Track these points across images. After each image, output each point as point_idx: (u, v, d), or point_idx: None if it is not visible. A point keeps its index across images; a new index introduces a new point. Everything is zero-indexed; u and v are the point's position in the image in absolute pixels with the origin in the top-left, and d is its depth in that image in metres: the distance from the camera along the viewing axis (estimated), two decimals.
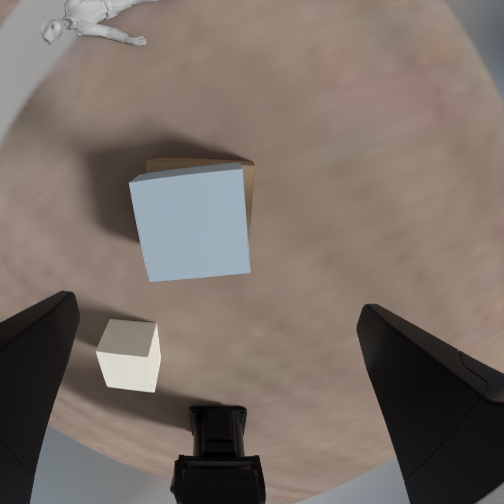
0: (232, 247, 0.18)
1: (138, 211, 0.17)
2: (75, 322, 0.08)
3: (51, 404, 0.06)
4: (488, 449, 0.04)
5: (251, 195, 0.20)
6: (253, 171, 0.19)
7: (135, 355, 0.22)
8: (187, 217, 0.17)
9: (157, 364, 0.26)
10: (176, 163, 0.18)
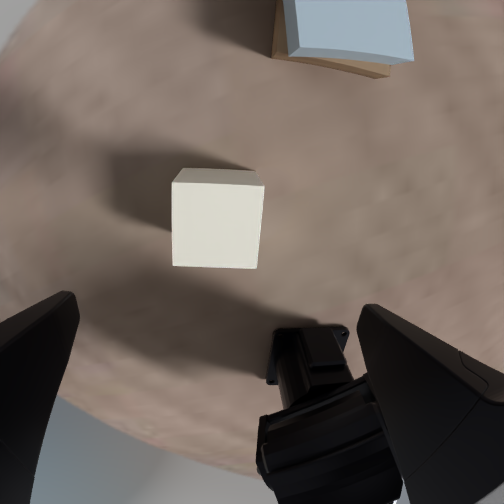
0: (396, 27, 0.11)
1: None
2: (75, 322, 0.08)
3: (51, 405, 0.06)
4: (488, 448, 0.04)
5: None
6: None
7: (242, 184, 0.15)
8: None
9: None
10: None
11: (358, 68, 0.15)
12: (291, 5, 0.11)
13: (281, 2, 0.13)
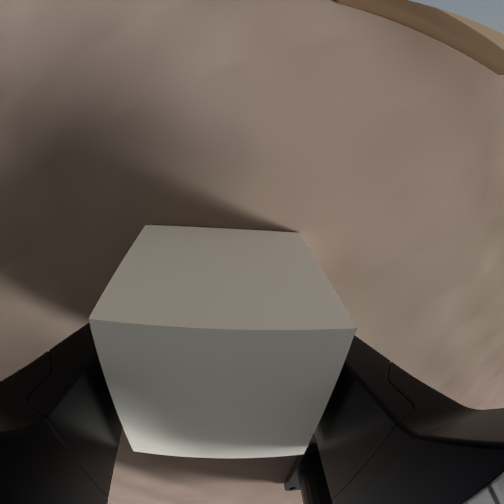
0: None
1: None
2: None
3: None
4: (406, 486, 0.03)
5: None
6: None
7: (296, 327, 0.05)
8: None
9: None
10: None
11: (500, 50, 0.05)
12: None
13: None
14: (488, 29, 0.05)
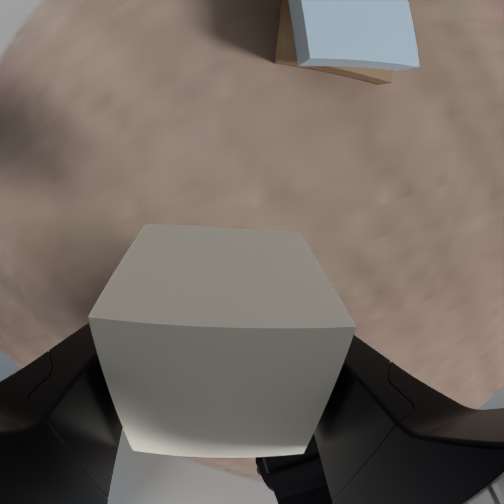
0: (401, 34, 0.12)
1: None
2: None
3: None
4: (406, 486, 0.03)
5: None
6: None
7: (297, 325, 0.05)
8: None
9: None
10: None
11: (360, 74, 0.15)
12: (299, 16, 0.12)
13: (285, 8, 0.13)
14: None
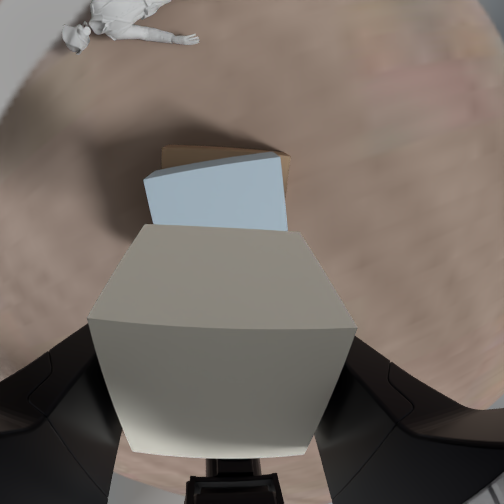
0: None
1: (156, 213, 0.14)
2: None
3: None
4: (405, 486, 0.03)
5: (284, 190, 0.17)
6: (288, 162, 0.16)
7: (297, 326, 0.05)
8: (215, 218, 0.15)
9: None
10: (198, 150, 0.16)
11: None
12: None
13: None
14: None
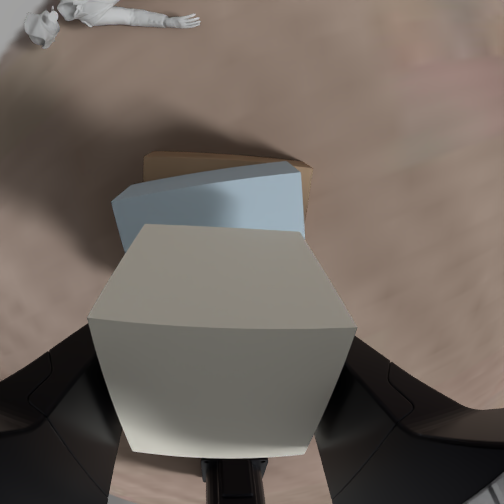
0: None
1: None
2: None
3: None
4: (405, 486, 0.03)
5: (304, 212, 0.13)
6: (309, 176, 0.12)
7: (297, 326, 0.05)
8: None
9: None
10: (191, 159, 0.12)
11: None
12: None
13: None
14: None
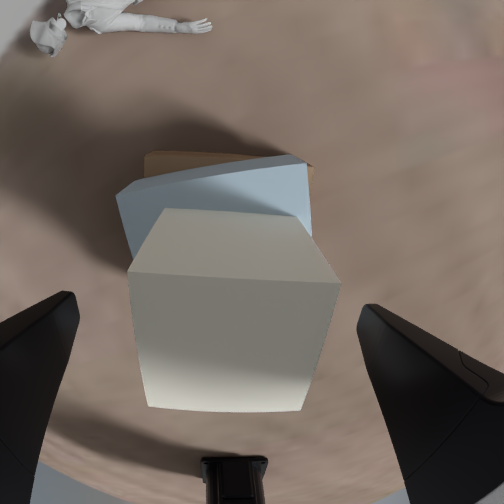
0: None
1: (135, 241, 0.10)
2: (75, 322, 0.08)
3: (51, 404, 0.06)
4: (488, 449, 0.04)
5: None
6: (311, 175, 0.12)
7: (293, 279, 0.06)
8: None
9: None
10: (192, 158, 0.12)
11: None
12: None
13: None
14: None
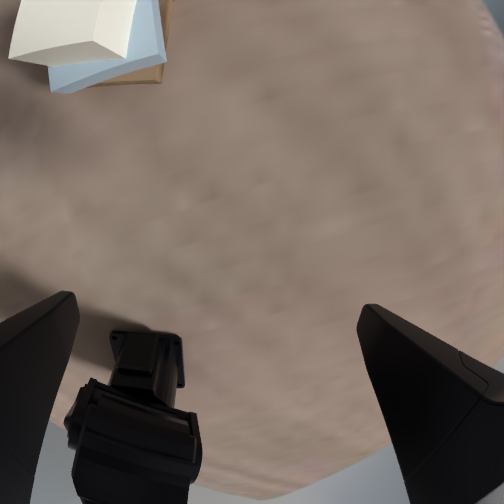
0: (137, 28, 0.12)
1: None
2: (75, 322, 0.08)
3: (51, 405, 0.06)
4: (488, 449, 0.04)
5: (164, 5, 0.13)
6: None
7: None
8: None
9: (117, 35, 0.10)
10: None
11: (123, 81, 0.15)
12: None
13: None
14: None
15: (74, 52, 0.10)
